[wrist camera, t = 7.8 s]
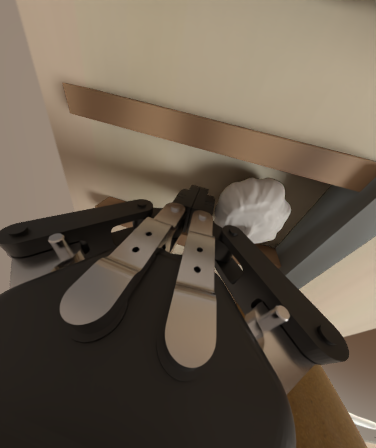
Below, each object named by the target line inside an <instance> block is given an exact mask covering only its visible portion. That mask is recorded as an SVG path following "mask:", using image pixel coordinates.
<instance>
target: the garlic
mask: <svg viewBox="0 0 376 448" xmlns="http://www.w3.org/2000/svg"><path fill="white" fill-rule="evenodd" d="M290 212H291V207H290V205H289V203H288V202H287V201H286V200H285V189H284V186H283V184H282V183H280V182H279V181H276V180H274V179H272V178H265V179H255V178H248V179H246V180H243V181H241V182H234V183H232V184H230V185H229V186H227V187H226V188H225V190H224V191H223V192H222V193H221V194H220V197H219V201H218V203H217V205H216V208H215V219H214V222H215V223H216V224H217V225H219V226H220V227H222V228H223V227H224V226H225V225H232V226H235V227H237V228H239V229H240V230H241V231H242V232H243V233H244V234H245V235H246V236H247V237H248V238H249V239H250V240H251V241H252V242H253V243H254V244H256V243H262V242H266V241H271V240H273V239H275V237H276V234H277V232H278V231H280V230H281V228H282V227H283V225H284V223H285V222H286V220H287V219H288V217H289V215H290Z"/></svg>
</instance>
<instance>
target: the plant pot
mask: <svg viewBox="0 0 376 448" xmlns="http://www.w3.org/2000/svg"><path fill="white" fill-rule="evenodd" d="M236 305H237V307H238V309H239V310H240V312H241V314H242V316H243V317H244V319H245V315H244V313H243V311H242V310H241V308H240V307H239V305H238V303H237V304H236ZM287 397H288V400H289V403H290V406H291V410H292V414H293V419H294V424H295V432H296V448H367V446H366V444H365V442H364V440H363V439H362V437H361V435H360V433H359V431H358V430H357V428H356V426H355V424H354V422H353V420H352V419H351V417H350V415H349V413H348V411H347V410H346V408H345V406H344V405H343V403H342V401H341V399H340V397H339V396H338V394H337V392H336V390H335V389H334V387H333V385H332V384H331V382H330V380H329V378H328V377H327V375H326V373H325V372H324V370H323V368H322V367H321V365H318V366H313V367H312V368H311V369H310V370H309V371H308V372H307V373H306V375H305V376H304V377H303V378H302V379H301V380H300V381H299V382H298V383H297V384H296V385H295V386H294V387H293V388H292V390H291V391H290V392H289V393H288V394H287Z"/></svg>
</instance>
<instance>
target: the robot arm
mask: <svg viewBox="0 0 376 448" xmlns="http://www.w3.org/2000/svg"><path fill="white" fill-rule="evenodd" d="M208 191H209V189H205V188H202V187H201V188H200V187H198V186H195V185H192V186H191V187H190V189H189V190H188V189H183V190H181V191H180V192H179V194H178V195H177V197H176V198H175V200H174V201H173V203H168V204H166V205H165V207H164V208H153V204H152V203H151V202H150V201H148V200H144V199H139V200H133V201H128V202H123V203H118V204H113V205H108V206H103V207H97V208H92V209H87V210H82V211H77V212H72V213H67V214H62V215H57V216H52V217H46V218H41V219H36V220H32V221H26V222H21V223H16V224H13V225H10V226H8V227H5V228H4V229H2V230H1V231H0V246H1V247H2V248H3V249H4V250H5V251H6V252H7V255H8V256H9V257H10V258H11V259H12V263H11V276H10V289H9V290H7V291H5V292H4V293H2V294H0V448H296V432H295V424H294V419H293V414H292V410H291V406H290V403H289V400H288V397H287V394H288V393H289V392H290V391H291V390H292V388H293V387H294V386H295V385H296V384H297V383H298V382H299V381H300V380H301V379H302V378H303V377H304V376H305V375H306V373H307V372H308V371H309V370H310V369H311V368H312V367H313V366H318V365H324V364H330V363H337V362H343V361H346V360H347V359H348V357H349V350H348V347H347V344H346V342H345V340H344V338H343V337H342V335H341V334H340V332H339V331H338V330H337V329H336V328H335V327H334V326H333V324H332V323H331V322H330V321H329V320H328V319H327V318H326V317H325V316H324V315H323V314H322V313H321V312H320V311H319V310H318V309H317V308H316V307H315V306H314V305H313V304H312V303H311V302H310V301H309V300H308V299H307V298H306V297H305V296H304V295H303V294H302V293H301V291H300V290H299V289H298V288H297V287H296V286H295V285H294V284H293V283H292V282H291V281H290V280H289V279H288V278H287V277H286V276H285V275H284V274H283V273H282V272H281V271H280V270H279V269H278V268H277V267H276V266H275V265H274V264H273V263H272V262H271V261H270V260H269V258H268V257H267V256H266V255H265V254H264V253H263V252H262V251H261V250H260V249H259V248H258V247H257V246H256V245H255V244H254V243H253V242H252V241H251V240H250V239H249V238H248V237H247V236H246V235H245V234H244V233H243V232H242V231H241V230H240V229H239V228H237V227H235V226H232V225H225V226H224V227H223V228H222V227H220V226H219V225H217V224H216V223H215V222H214V221H213V217H212V214H213V209H214V203H215V199H214V197H213V196H209V195H207V194H208ZM128 222H132V224H133V227H130V228H126V229H123V230H120V231H116V232H113V233H111V230H112V228H113V227H115V226H117V225H121V224H125V223H128ZM186 230H187V231H186ZM182 232H184V233H185V232H186V233H188V235H187V238H186V242H185V247H184V251H183V255H179V254H172V252H173V250H174V248H175V246H176V244H177V243H178V241H179V238H180V235H181V234H182ZM232 256H234V257H235V258H236V259H237V261H238V262H239V263H240V265H241V266H242V268H243V271H242V269H241V268H240V267H239V266H238V264H237V263H236V262H235V260H234V259H233V258H232ZM214 267H215V268H216V270H217V272H218V273H219V275H220V276H221V278H222V280H223V281H224V283H225V284H226V286H227V288H228V289H229V291H230V292H231V294H232V296H233V297H234V299H235V300H236V302H237V303H238V305H239V307H240V308H241V310H242V311H243V313H244V315H245V319H244V317H243V316H242V314H241V312H240V310H239V309H238V307H237V305H236V304H235V302H234V300H233V298H232V297H231V295H230V293H229V292H228V290H227V288H226V286H225V285H224V283H223V281H222V280H221V279H220V277H219V276H218V275H217V274H216V273H215V272H214Z"/></svg>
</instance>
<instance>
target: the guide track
mask: <svg viewBox="0 0 376 448" xmlns="http://www.w3.org/2000/svg"><path fill="white" fill-rule="evenodd" d="M62 84H63V87H64V91H65V95H66V99H67V103H68V106H69V110H70V113H71V114H75V115H79V116H82V117H86V118H90V119H93V120H97V121H101V122H104V123H108V124H112V125H115V126H119V127H123V128H126V129H130V130H134V131H137V132H141V133H145V134H148V135H152V136H156V137H159V138H163V139H167V140H170V141H174V142H178V143H181V144H185V145H189V146H192V147H196V148H200V149H203V150H207V151H211V152H214V153H218V154H222V155H225V156H229V157H233V158H236V159H240V160H244V161H247V162H251V163H255V164H258V165H262V166H266V167H269V168H273V169H277V170H280V171H284V172H288V173H291V174H295V175H299V176H302V177H306V178H310V179H313V180H317V181H321V182H324V183H328V184H332V186H331V187H330V188H329V189H328V190H327V191H326V192H325V193H324V195H323V196H322V197H321V198H320V199H319V200H318V201H317V202H316V204H315V205H314V206H313V207H312V208H311V209H310V210H309V211H308V213H307V214H306V215H305V216H304V217H303V218H302V219H301V220H300V222H299V223H298V224H297V225H296V226H295V227H294V228H293V229H292V231H291V232H290V233H289V234H288V235H287V236H286V237H285V238H284V240H283V241H282V242H281V243H280V244H279V245H278V246H277V247H276V249H275V248H272V247H268V246H265V245H262V244H259V243H256V244H255V245H256V246H257V247H258V248H259V249H260V250H261V251H262V252H263V253H264V254H265V255H266V256H267V257H268V258H269V260H270V261H271V262H272V263H273V264H274V265H275V266H276V267H277V268H278V269H279V270H280V271H281V272H282V273H283V274H284V275H285V276H286V277H287V278H288V279H289V280H290V281H291V282H292V283H293V284H294V285H295V286H296V287H297V288H298V289H300V288H301V287H303V286H304V285H306V284H307V283H309V282H310V281H311V280H313V279H314V278H316V277H317V276H319V275H320V274H322V273H323V272H324V271H326V270H327V269H329V268H330V267H332V266H333V265H335V264H336V263H337V262H339V261H340V260H342V259H343V258H345V257H346V256H348V255H349V254H350V253H352V252H353V251H355V250H356V249H358V248H359V247H361V246H362V245H364V244H365V243H366V242H368V241H369V240H371V239H372V238H374V237H375V236H376V161H373V160H369V159H365V158H361V157H357V156H353V155H349V154H345V153H341V152H338V151H334V150H330V149H326V148H322V147H318V146H314V145H310V144H306V143H302V142H298V141H294V140H291V139H287V138H283V137H279V136H275V135H271V134H267V133H263V132H259V131H255V130H251V129H247V128H243V127H240V126H236V125H232V124H228V123H224V122H220V121H216V120H212V119H208V118H204V117H200V116H196V115H192V114H189V113H185V112H181V111H177V110H173V109H169V108H165V107H161V106H157V105H153V104H149V103H145V102H142V101H138V100H134V99H130V98H126V97H122V96H118V95H114V94H110V93H106V92H102V91H98V90H94V89H90V88H86V87H81V86H76V85H72V84H67V83H62ZM123 202H125V201H122V200H119V199H116V198H113V197H109V198H107V199H105V200H104V201H102V202H101V203H99V204H98V205H96V206H95V208H97V207H103V206H108V205H113V204H118V203H123ZM121 226H124V227H127V228H130V227H133V224H132V222H128V223H125V224H121ZM186 231H187V230H186ZM187 235H188V233H186V232H185V233H184V232H182V234H181V235H180V238H179V241H178V243H177V244H179V245H182V246H185V242H186V238H187ZM232 258H233V259H234V260H235V262H236V263H237V264H239V265H240V263H239V262H238V261H237V259H236V258H235V257H234V256H232Z"/></svg>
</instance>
